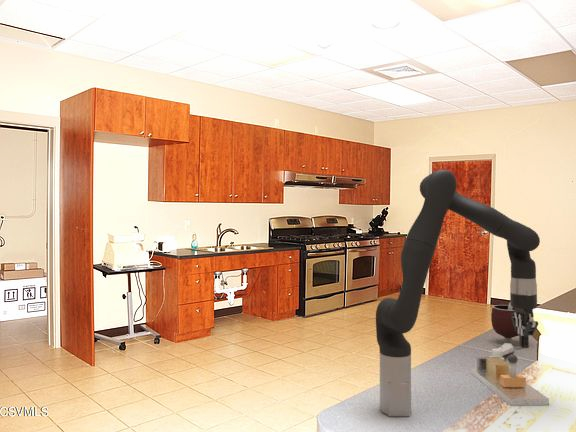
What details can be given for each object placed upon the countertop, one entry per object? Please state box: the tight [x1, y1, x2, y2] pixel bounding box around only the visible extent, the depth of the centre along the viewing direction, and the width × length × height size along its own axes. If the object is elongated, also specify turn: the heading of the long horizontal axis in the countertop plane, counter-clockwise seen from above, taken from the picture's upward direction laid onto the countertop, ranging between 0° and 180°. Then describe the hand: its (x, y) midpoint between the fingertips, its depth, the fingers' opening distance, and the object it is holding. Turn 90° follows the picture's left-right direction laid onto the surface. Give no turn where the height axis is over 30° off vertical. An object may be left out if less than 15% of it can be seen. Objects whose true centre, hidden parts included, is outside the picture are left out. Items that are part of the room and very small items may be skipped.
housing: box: [486, 358, 509, 380], centre depth 165 cm, size 8×5×5 cm, turn 0°
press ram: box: [500, 353, 527, 387], centre depth 154 cm, size 3×7×10 cm, turn 91°
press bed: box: [470, 356, 550, 406], centre depth 159 cm, size 30×12×6 cm, turn 1°
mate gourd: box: [490, 302, 523, 350], centre depth 211 cm, size 16×14×20 cm
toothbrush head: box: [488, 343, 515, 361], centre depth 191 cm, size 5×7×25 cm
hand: (524, 347), depth 147 cm, fingers closed
